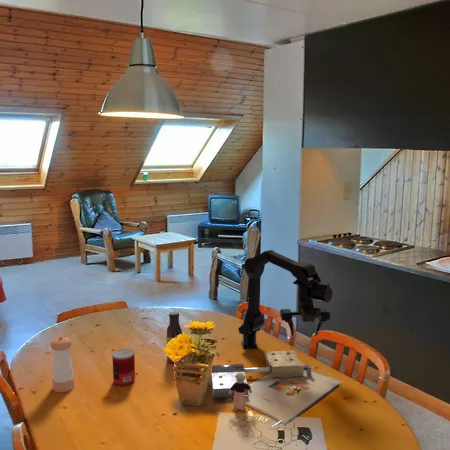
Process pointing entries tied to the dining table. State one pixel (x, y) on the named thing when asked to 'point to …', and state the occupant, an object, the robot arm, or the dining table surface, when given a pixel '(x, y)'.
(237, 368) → the fixed leaf
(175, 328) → the sauce bottle
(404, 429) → the dining table surface
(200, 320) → the dining table surface
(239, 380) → the grandmother figurine
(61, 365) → the pepper shaker
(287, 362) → the beige block with rivets
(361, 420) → the dining table surface
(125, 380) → the canned food
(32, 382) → the dining table surface
